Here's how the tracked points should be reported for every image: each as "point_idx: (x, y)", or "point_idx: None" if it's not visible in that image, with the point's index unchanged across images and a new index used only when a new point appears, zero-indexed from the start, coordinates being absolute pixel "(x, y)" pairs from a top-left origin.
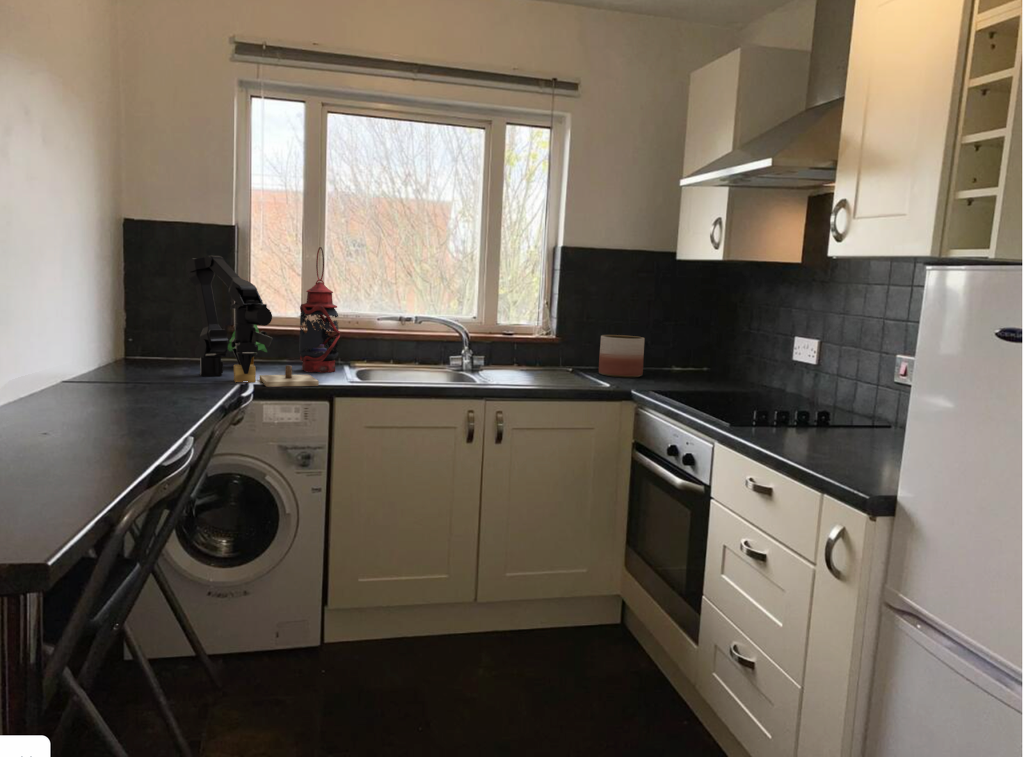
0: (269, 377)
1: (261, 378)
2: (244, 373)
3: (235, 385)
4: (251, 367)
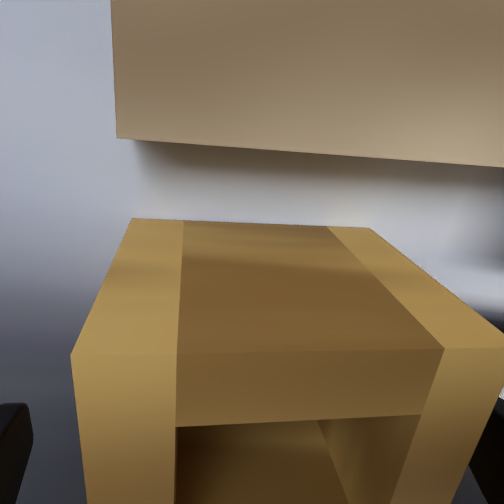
0: (454, 32)
1: (358, 153)
2: None
3: None
4: (485, 404)
